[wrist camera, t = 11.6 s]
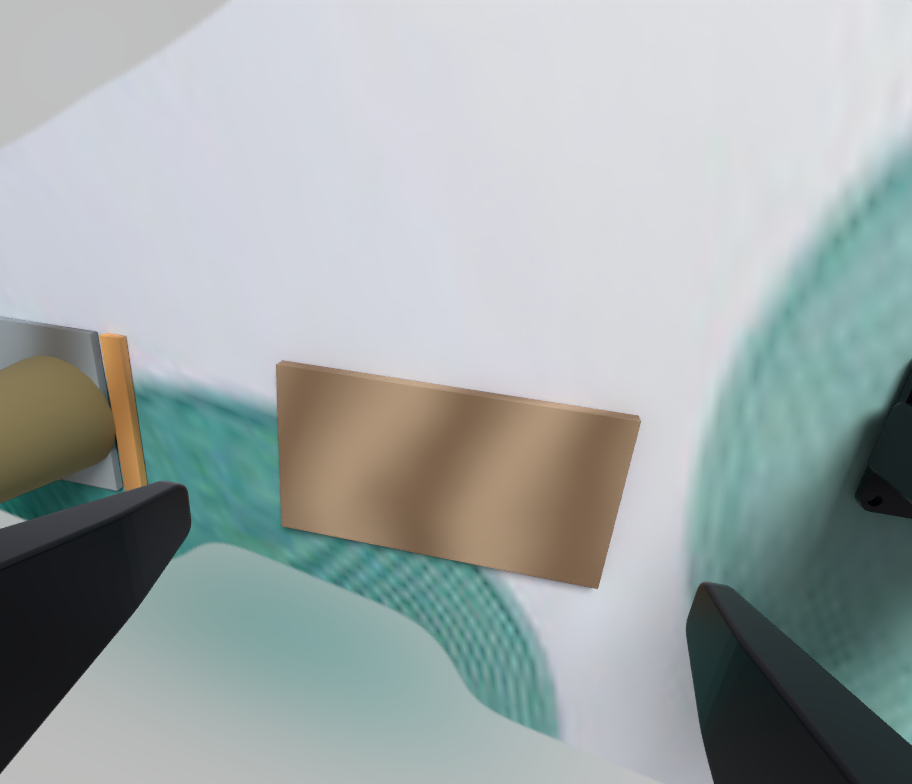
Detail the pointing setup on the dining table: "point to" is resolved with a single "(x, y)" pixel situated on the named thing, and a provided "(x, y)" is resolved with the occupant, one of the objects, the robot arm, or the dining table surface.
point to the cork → (49, 424)
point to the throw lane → (403, 460)
